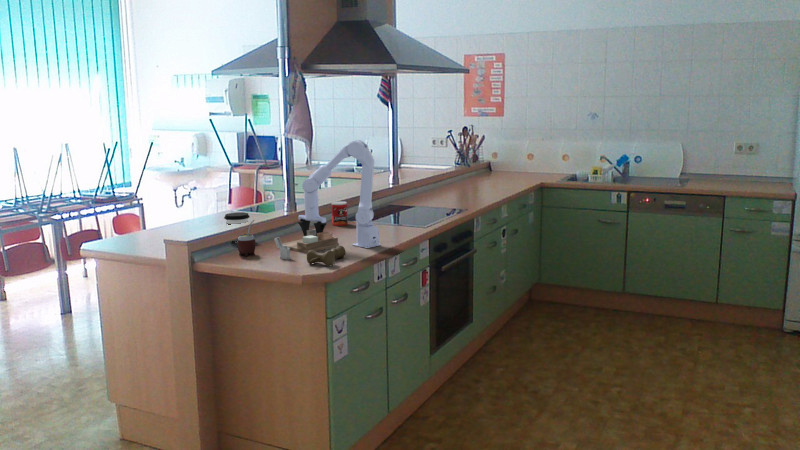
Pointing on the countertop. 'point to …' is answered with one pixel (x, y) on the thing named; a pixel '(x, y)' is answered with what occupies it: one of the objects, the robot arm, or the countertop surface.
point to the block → (309, 239)
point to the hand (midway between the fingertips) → (312, 237)
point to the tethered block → (320, 234)
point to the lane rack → (312, 245)
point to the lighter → (282, 249)
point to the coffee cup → (236, 218)
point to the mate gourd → (246, 243)
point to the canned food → (339, 213)
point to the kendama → (326, 256)
